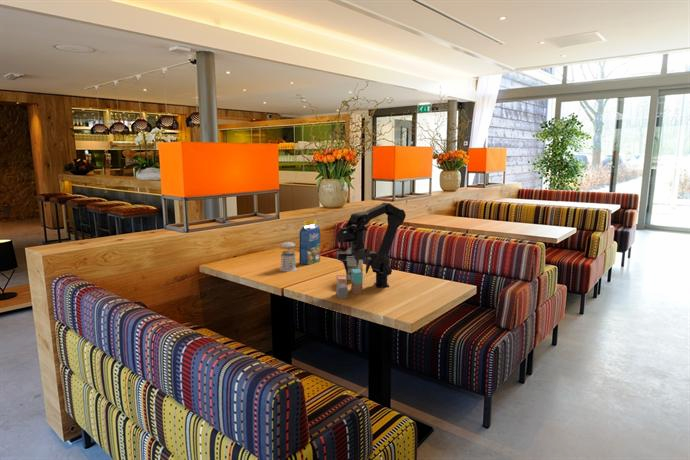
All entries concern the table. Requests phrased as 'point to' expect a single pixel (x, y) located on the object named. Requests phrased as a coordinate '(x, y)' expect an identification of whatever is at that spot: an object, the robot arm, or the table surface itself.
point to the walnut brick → (356, 288)
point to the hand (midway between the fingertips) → (356, 273)
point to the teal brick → (357, 276)
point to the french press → (288, 257)
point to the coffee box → (353, 264)
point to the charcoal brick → (341, 291)
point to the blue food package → (309, 243)
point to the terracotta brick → (341, 279)
